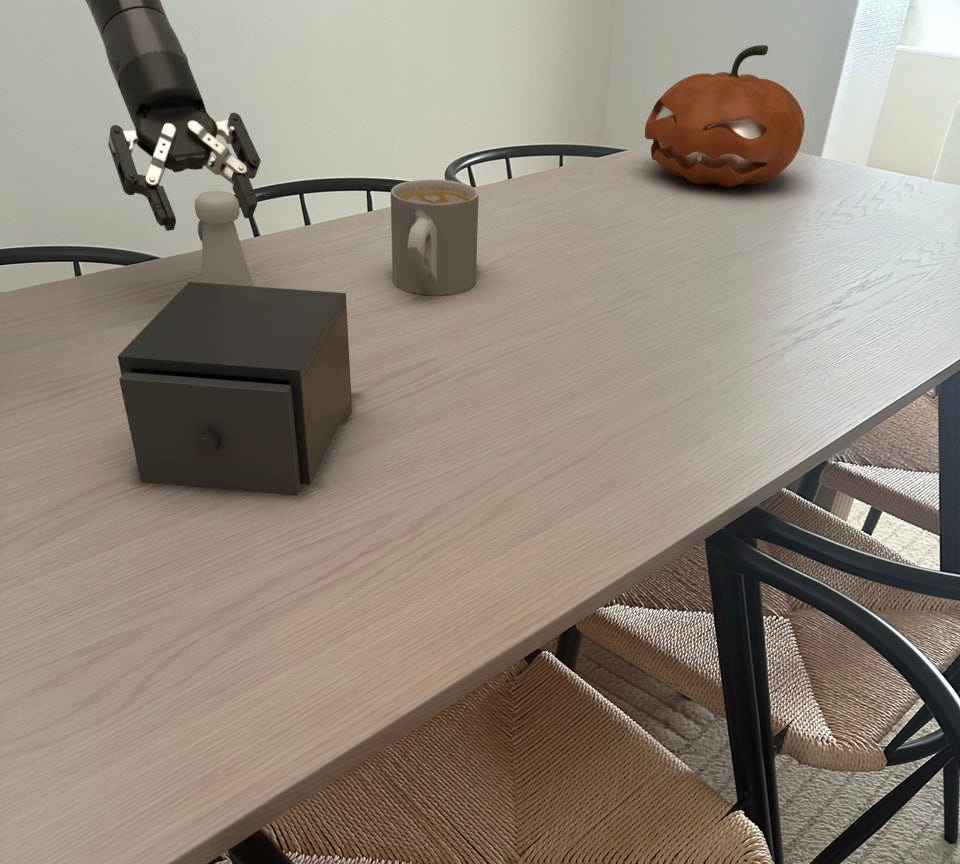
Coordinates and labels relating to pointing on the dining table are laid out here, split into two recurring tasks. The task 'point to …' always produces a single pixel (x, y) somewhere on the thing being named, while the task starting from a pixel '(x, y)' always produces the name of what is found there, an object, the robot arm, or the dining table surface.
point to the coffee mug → (434, 236)
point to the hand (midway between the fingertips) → (211, 220)
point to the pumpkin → (726, 127)
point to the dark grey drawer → (213, 431)
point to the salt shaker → (221, 240)
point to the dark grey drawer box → (259, 350)
